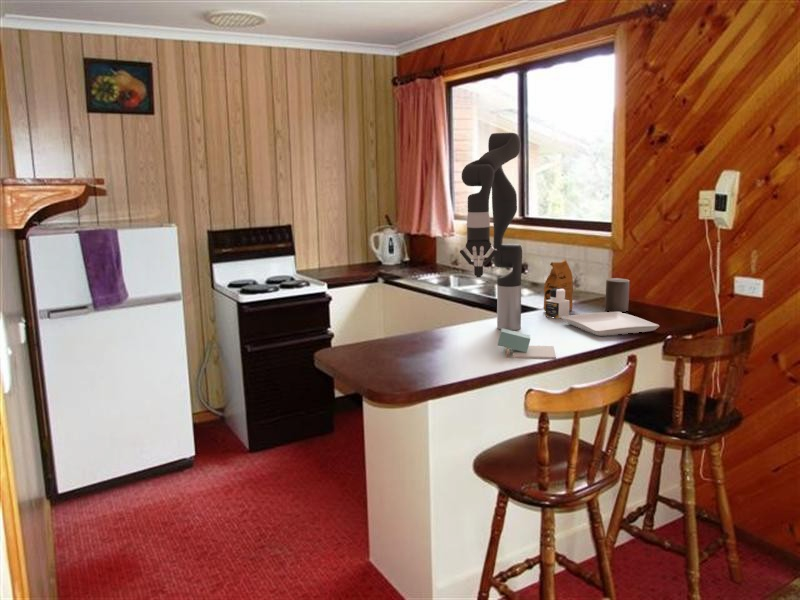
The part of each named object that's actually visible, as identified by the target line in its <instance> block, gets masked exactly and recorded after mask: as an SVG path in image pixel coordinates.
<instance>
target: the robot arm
mask: <svg viewBox="0 0 800 600" xmlns="http://www.w3.org/2000/svg"><path fill="white" fill-rule="evenodd" d="M487 143H488V147H487V148H488V151H487V152H485V153H484V154H483V155H481V156H480V158H479V159H475V160H474V161H471V162H469V163H468V164H466V165H465V166H464V168H463V169H462V171H461V180H462V182H463V184H464V185H465V186H467V187H481V189H480V190H479V192H476V193H471V194H469V195H468V196H467V214H466V215H467V217H466V243H465V246H464V247H463V248H462V249H460V251H459V253H460V255H461V256H462V257H463V258H464V259H465V260H466V262H467V263H468V264H469V265H470V266H473V270H474V272H473V274H474V276H476V278H481V277H482V276H483V275H484V266H486V265H488V264H489V263H490V262H491V261H492V259H493V264H494V267H496V268H503V269H504V268H507V269H511V268H512V270H511V272H509V273H508V274H505V275H500V276H499V277H497V280H496V283H497V284H496V285H497V286H496V289H497V290H496V292H497V296H496V298H497V301H496V302H497V303H496V304H497V305H496V316H497V317H496V318H497V319H496V323H497V325H496V328H497V329H499V330H501V328H503V329H507V330H511V331H516V330H517V331H518V330H520V329H521V328H522V324H521V323H522V322H521V321H522V269H523V268H522V267H523V266H522V264H523V248H522V245H521V244H519V243H504V242H503V240H504V235H505V233H506V232H507V231H506V230H507V229H508V227H509V225H510V224H511V223H512V221H513V219H514V218H515V215H516V214H517V211H518V199H517V197H518V196H517V191H516V189H515V187H514V186H513V184H512V182H511V181H510V180H509V178H508V177H507V175H506V173H505V171H504V169H503V165H505V164H506V163H508V162H510V161H511V160H513V159H515V158H517V157H518V156H519V154H520V151H521V146H522V144H521V137H520V135H519V134H518V133H516V132H494V133H491V134H490V135H489V138H488V142H487ZM490 195H491V208H492V209H491V210H492V218H493V219H492V220H493V221H492V223H493V225H492V226H493V246H492V243H491V240H490V239H491V232H490V231H491V230H490V228H491V221H490V219H491V217H490ZM488 252H489V255H488V256H487V258H486V259H485V260H484V257H485V255H486V254H488ZM468 253H470V255H471V256H472V258H473V259H472V258H470V256H469V254H468ZM478 256H479V257H478Z"/></svg>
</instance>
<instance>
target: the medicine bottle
mask: <svg viewBox="0 0 800 600" xmlns="http://www.w3.org/2000/svg"><path fill="white" fill-rule="evenodd" d="M550 298H551V299H550V300H546V312H545V317H546V316H548V317H547V318H550V317H554V318H553V319H555V318H561V316H570V311H569V302H570V301H569V300H565V290H564V289H562V288H553V289H551V290H550ZM561 319H562V318H561Z"/></svg>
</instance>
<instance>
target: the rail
mask: <svg viewBox="0 0 800 600" xmlns="http://www.w3.org/2000/svg"><path fill="white" fill-rule="evenodd" d="M506 358H507V359H510V358H511V349H510V348H506Z"/></svg>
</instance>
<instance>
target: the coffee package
mask: <svg viewBox="0 0 800 600" xmlns="http://www.w3.org/2000/svg"><path fill="white" fill-rule="evenodd" d="M550 266H551V267H552V268H551V270H550V273H549V275H548V276H547V278H546V279H545V282H544V286H543V310H544V312H545V311H546V300H550V299H551V298H550V290H551V289H553V288H562V289H564V290H565V300H569V301H570V302H569V310H570V311H572V310H573V299H574V294H573V293H574V281H573V273H572V270H571V268H570V266H569V264H568V261H567V260H566V259H564V260H562V261H559V262H557V261H554V262H553V261H552V262H551V263H550Z"/></svg>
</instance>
